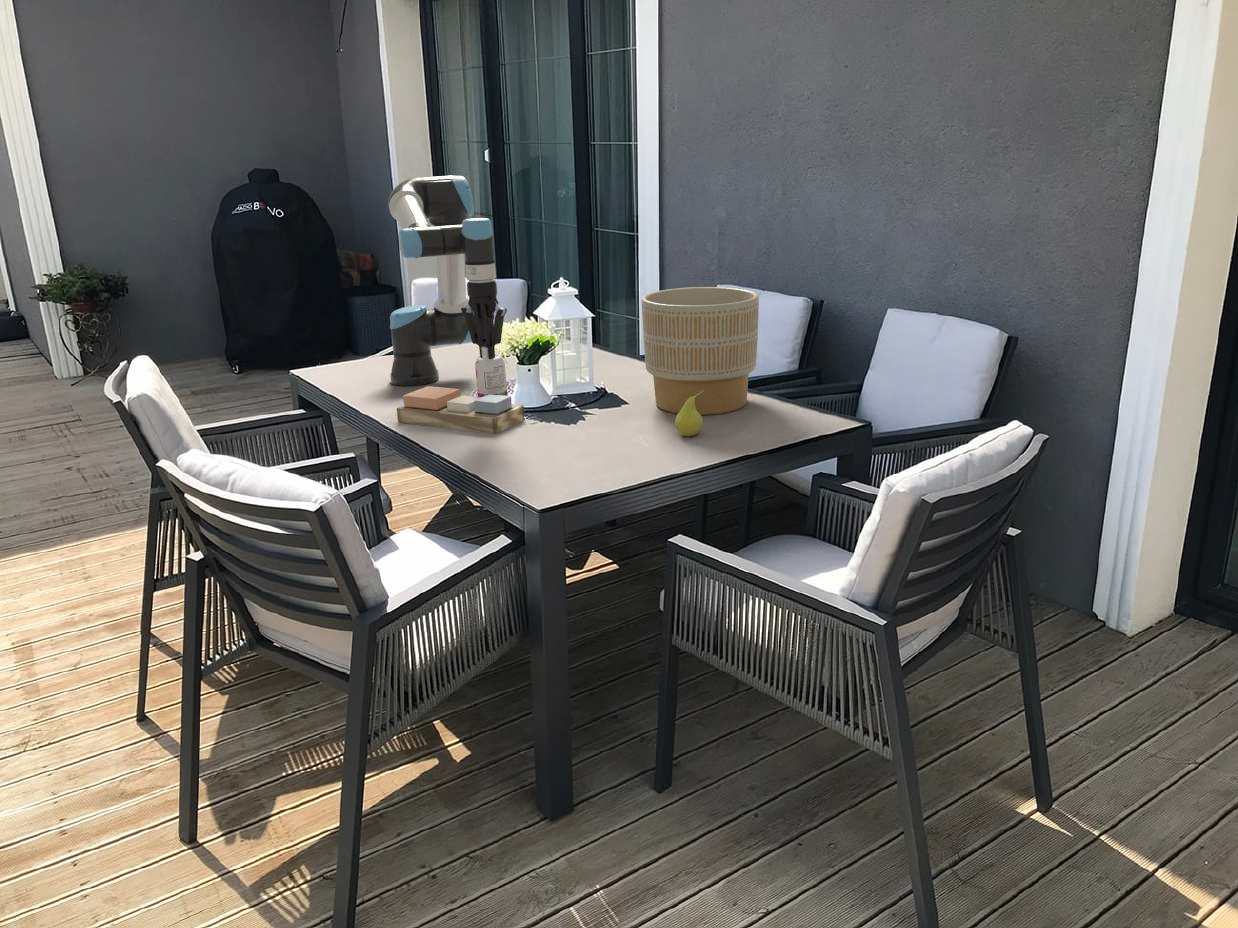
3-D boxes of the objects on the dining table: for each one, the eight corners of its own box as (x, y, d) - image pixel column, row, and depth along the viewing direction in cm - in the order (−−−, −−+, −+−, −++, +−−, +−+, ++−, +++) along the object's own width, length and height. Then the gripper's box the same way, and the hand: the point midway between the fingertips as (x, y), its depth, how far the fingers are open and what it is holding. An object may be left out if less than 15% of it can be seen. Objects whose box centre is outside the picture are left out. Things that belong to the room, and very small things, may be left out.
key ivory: (463, 411, 275) (462, 395, 273) (484, 413, 272) (483, 397, 270) (448, 417, 269) (446, 401, 267) (469, 420, 266) (468, 404, 264)
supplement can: (474, 412, 280) (469, 360, 275) (487, 404, 287) (483, 353, 282) (500, 414, 277) (495, 361, 272) (513, 406, 284) (509, 355, 279)
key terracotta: (429, 401, 282) (427, 386, 280) (461, 404, 277) (459, 389, 276) (404, 411, 273) (403, 395, 271) (437, 415, 268) (435, 399, 266)
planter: (655, 388, 297) (652, 287, 288) (761, 390, 291) (762, 286, 281) (635, 418, 268) (631, 306, 259) (753, 420, 262) (754, 305, 252)
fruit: (675, 432, 255) (674, 386, 251) (704, 431, 254) (704, 385, 250) (675, 439, 248) (674, 393, 244) (706, 439, 248) (705, 392, 244)
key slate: (490, 410, 270) (489, 394, 269) (512, 412, 267) (510, 396, 266) (475, 417, 265) (474, 400, 263) (497, 419, 262) (496, 402, 260)
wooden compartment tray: (429, 409, 285) (427, 395, 283) (524, 419, 271) (523, 405, 269) (398, 422, 273) (396, 408, 272) (495, 433, 259) (494, 419, 258)
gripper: (451, 282, 254) (460, 372, 262) (494, 283, 249) (501, 375, 256) (469, 277, 261) (476, 366, 268) (510, 279, 255) (517, 369, 262)
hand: (488, 370), depth 262 cm, fingers closed
